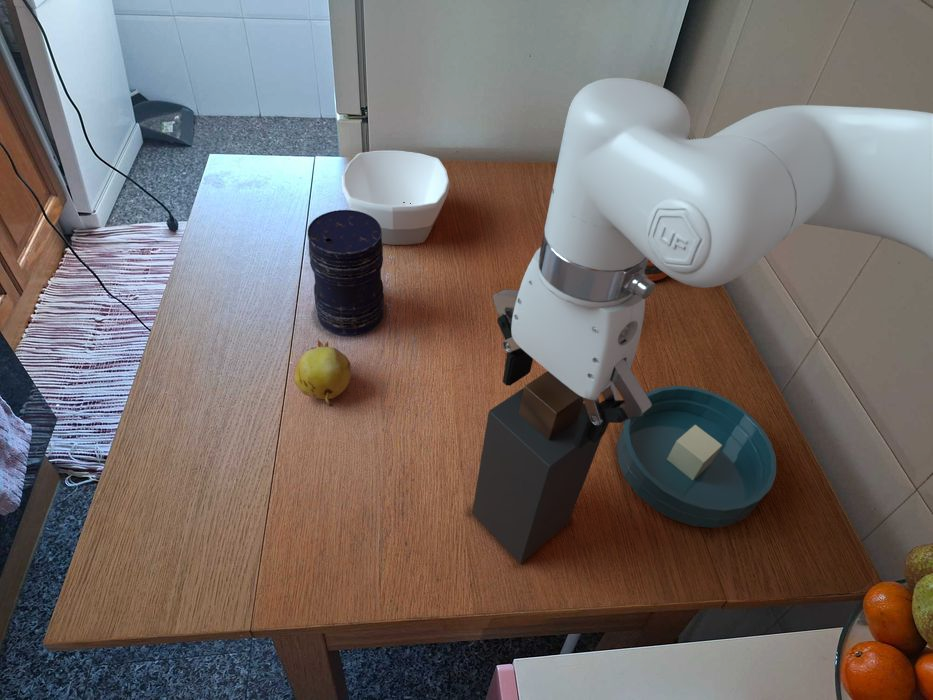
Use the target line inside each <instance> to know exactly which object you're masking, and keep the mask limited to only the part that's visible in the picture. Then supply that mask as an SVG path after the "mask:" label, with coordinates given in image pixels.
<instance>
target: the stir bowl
mask: <svg viewBox="0 0 933 700" xmlns="http://www.w3.org/2000/svg"><path fill="white" fill-rule="evenodd" d="M645 393H646V395H647V397H648V398H649V400H650V401H651V404H652V407H651V408H650V409H649V410H648V411H646V412H645V413H644V414H643V415H641V416H639V417H636V418H632V419H628V420H624V421H623V422H622V425H621V428H620V430H619V433H618V436H617V442H616V446H615V447H616V455H617V456H616V457H617V463H618V465H619V467H620V469H621V472H622V475H623V477H624V479H625V481H626V482H627V483H628V485H629V486H630V488H631V489H632V490H633V491H634V492H635V494H636V495H637V496H638V497H639V498H640V499H642V501H644V503H646V504H647V505H648V506H650V507H651V508H652V509H653V510H655V511H657V512H659V513H660V514H662V515H663V516H665V517H667V518H669V519H671V520H674V521H676V522H679V523H683V524H685V525H688V526H692V527H699V528H709V529H710V528H711V529H715V528H716V529H717V528H721V527H727V526H732V525H734V524H736V523H739V522H741V521H742V520H744V519H746V518H748V517H749V516H750V515H752V512H754V510H755V509H756V508H757V507H758V506H759V505H760V504H761V502H762V501H763V500H764V499H765V497H766V496H767V494H768V493H769V492H770V491H771V489H772V487H773V484H774V483H775V479H776V477H777V457H776V453H775V450H774V447H773V444H772V441H771V440H770V438H769V436H768V435H767V433H766V432H765V430H764V428H763V427H762V426H761V425H760V424H759V423H758V422H757V420H755V418H754V417H752V415H750V413H748V412H747V410H745V409H743V408H742V407H740V406H739V405H738V404H736V403H735V402H734V401H732V400H730V399H728V398H726V397H724V396H722V395H720V394H717V393H715V392H714V391H709V390H706V389H703V388H699V387H696V386H687V385H685V386H684V385H671V386H670V385H669V386H662V387H658V388H655V389H652V390H650V391H647V392H645ZM694 425H697V426H698V427H699V428H700V429H702V430H703V431H704V432H706V433H707V434H708V435H710V436H711V437H712V438H714V439H715V440H716V441H718V442H719V443H720V444H722V447H721V448H720V450H719V452H718V453H717V455H716V456H715V458H714V460H713V461H712V463H711V464H710V465H709V466H708V467H707V468H706V469H705V470H704V471H703V472H702V473H701V474H700V475H699V476H697V477H696V478H695V479H694V480H692V479H690V478H689V477H688V476H687V475H686V474H684V473H683V472H682V471H681V470H679V469H678V468H677V467H676V466H674V465H673V464H672V463H671V462H669V461H668V460H667V458H668V456H669V454H670V452H671V450H672V448H673V447H674V445H675V443H676V441H677V440H678V439H679V438H680V437H681V436H683V435H684V434H685V433H686V432H687V431H688V430H689V429H691V428H692V427H693V426H694Z"/></svg>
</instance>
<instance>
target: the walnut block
mask: <svg viewBox="0 0 933 700" xmlns="http://www.w3.org/2000/svg"><path fill="white" fill-rule="evenodd" d="M523 388H524V391H523V396H522V401H521V405H520V410H519V414H520V415H521V416H522V417H523V418H524V419H525V420H526V421H528V422H529V423H530V424H531V425H532V426H533V427H534V428H535V429H537V430H538V431H539V432H540V433H541V434H542V435H543V436H544V437H546V438H547V439H548V440H550V439H552V438H553V437H555V436H556V435H557V434H559V433H560V432H561V431H563V430H564V429H565V428H567V427H568V426H569V425H571V424H572V423H573V422H575V421H576V420H577V419H578V417H579V414H580V411H581V408H582V405H583V403H584V400H583V397H581V396H580V395H578V394H576V393H575V392H574V391H572V390H571V389H570V388H569V387H567V386H566V385H565V384H563V383H562V382H561V381H560V380H558V379H557V378H556V377H555V376H554V375H552V374H551V373H550V372H549V371H547V370H546V371H545V372H544V373H542V374H541V375H539V376H537V377H536V378H535V379H533V380H532V381H530V382H528V383H527V384H526V385H524V387H523Z"/></svg>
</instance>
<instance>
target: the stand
mask: <svg viewBox="0 0 933 700" xmlns="http://www.w3.org/2000/svg"><path fill="white" fill-rule="evenodd" d="M523 391H524V387H522V388H521V389H519V390H518V391H516V392H514V393H513V394H512V395H510V396H509V397H507V398H506V399H505V400H503V401H501V402H500V403H499V404H497V405H495V406H494V407H493V408H491V409H490V410H488V413H487V420H486V424H485V425H486V426H485V432H484V438H483V444H482V449H481V456H480V462H479V469H478V474H477V480H476V487H475V494H474V500H473V506H472V511H471V514H472V515H473V517H475V519H476V520H478V522H480V523H481V525H482V526H483V527H484V528H485V529H486V530H487V531H488V532H489V533H490V534H491V535H492V536H493V538H494V539H496V540H497V541H498V542H499V544H500V545H501V546H502V547H503V548H504V549H505V550H506V551H507V552H508V553H509V554H510V555H511V556H512V557H513V558H514V559H515V561H517V563H518V564H520V565H522V563H524V562H525V561H526V560H527V559H529V558H530V557H531V556H532V555H534V553H535V552H537V551H538V550H539V549H540V548H541V547H543V546H544V545H545V544H546V543H548V542H549V541H550V540H551V539H553V537H554V536H555V535H557V534H558V533H559V532H560V531H561V530H562V529H564V528H565V527H566V526H567V525H568V524H569V523H570V522H571V518H572V516H573V513H574V511H575V508H576V506H577V504H578V500H579V498H580V495H581V492H582V490H583V487H584V485H585V482H586V480H587V477H588V474H589V471H590V470H591V466H592V463H593V461H594V458H595V456H596V453H597V450H598V448H599V446H600V443H601V440H602V438H603V436H602V437H601V438H600V439H599V440H598V441H597V442H595V443H593V442H592V441H589V442H588V443H586V444H585V445H584V446H583V447H581V448H580V449H579V448H578V447H576V446H575V445H574V444H575V443H574V440H575V437H576V434H577V431H578V428H579V425H580V422H581V419H582V417H583V416H584V415H586V414H587V413H588V412H587V409H586V406H585V403H584V402H583V405H582V408H581V411H580V414H579V417H578V419H577V420H576V421H575V422H573V423H572V424H571V425H569V426H568V427H567V428H565V429H564V430H563V431H561V432H560V433H559V434H557V435H556V436H555V437H553V438H552V439H550V440H548V439H547V438H546V437H544V436H543V435H542V434H541V433H540V432H539V431H538V430H537V429H535V428H534V427H533V426H532V425H531V424H530V423H529V422H528V421H526V420H525V419H524V418H523V417H522V416H521V415H520V414H519V410H520V405H521V401H522V396H523Z"/></svg>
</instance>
